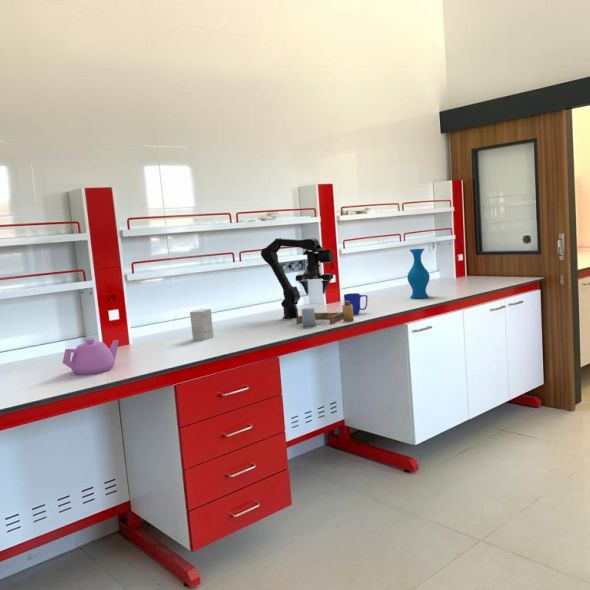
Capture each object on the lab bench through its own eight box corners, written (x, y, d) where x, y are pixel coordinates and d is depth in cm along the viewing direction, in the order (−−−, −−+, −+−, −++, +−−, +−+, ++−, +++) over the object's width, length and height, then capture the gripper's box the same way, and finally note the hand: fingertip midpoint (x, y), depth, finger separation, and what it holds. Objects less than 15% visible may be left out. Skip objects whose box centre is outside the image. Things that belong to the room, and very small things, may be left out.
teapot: (74, 380, 215) (70, 346, 214) (56, 374, 226) (52, 342, 225) (130, 366, 230) (127, 335, 229) (111, 361, 241) (107, 332, 240)
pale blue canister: (300, 327, 286) (299, 310, 285) (308, 323, 294) (307, 307, 293) (312, 327, 283) (310, 310, 282) (319, 323, 291) (318, 307, 290)
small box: (202, 336, 282) (199, 308, 280) (213, 336, 279) (211, 308, 278) (192, 340, 274) (189, 311, 273) (204, 340, 272) (201, 311, 270)
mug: (367, 314, 308) (366, 294, 307) (344, 315, 311) (342, 295, 310) (369, 311, 316) (367, 292, 315) (346, 312, 319) (344, 293, 318)
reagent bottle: (341, 321, 293) (340, 302, 292) (345, 319, 298) (344, 300, 297) (351, 321, 291) (350, 302, 290) (355, 319, 296) (353, 300, 294)
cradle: (296, 323, 297) (296, 317, 296) (308, 318, 309) (308, 312, 309) (332, 323, 288) (332, 317, 288) (343, 318, 301) (343, 312, 301)
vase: (426, 299, 345) (423, 249, 342) (405, 299, 352) (402, 250, 348) (433, 296, 355) (431, 248, 352) (412, 296, 362) (410, 248, 358)
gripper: (289, 265, 304) (292, 296, 306) (324, 264, 296) (326, 296, 298) (299, 263, 314) (301, 293, 316) (332, 262, 306) (334, 292, 308)
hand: (315, 294), depth 309 cm, fingers open, 9 cm apart
